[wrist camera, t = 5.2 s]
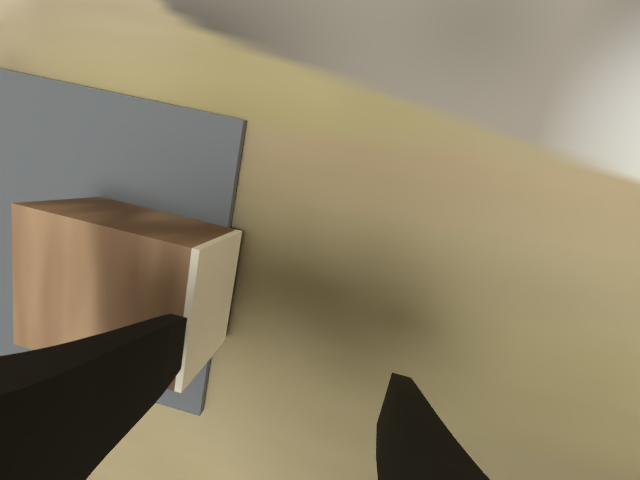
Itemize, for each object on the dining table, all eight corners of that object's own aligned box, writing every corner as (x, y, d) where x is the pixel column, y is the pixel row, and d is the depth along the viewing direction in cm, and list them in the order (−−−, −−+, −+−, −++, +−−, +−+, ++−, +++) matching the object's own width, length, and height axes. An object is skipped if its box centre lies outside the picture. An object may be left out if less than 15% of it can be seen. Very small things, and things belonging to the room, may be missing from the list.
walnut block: (199, 250, 11) (11, 203, 11) (181, 393, 12) (13, 344, 13) (242, 230, 15) (100, 196, 15) (225, 340, 16) (94, 305, 17)
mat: (246, 121, 14) (243, 119, 14) (202, 410, 18) (199, 416, 17) (-21, 64, 15) (-31, 62, 15) (-12, 346, 19) (-20, 350, 18)
